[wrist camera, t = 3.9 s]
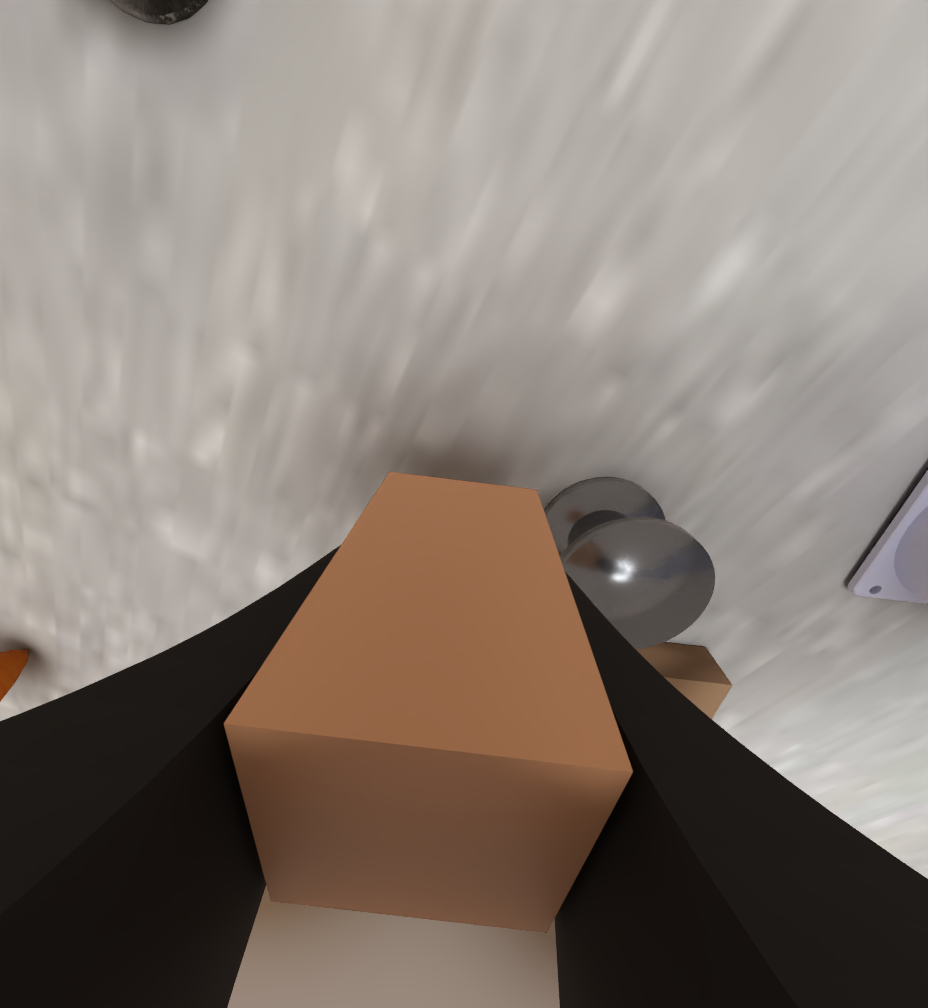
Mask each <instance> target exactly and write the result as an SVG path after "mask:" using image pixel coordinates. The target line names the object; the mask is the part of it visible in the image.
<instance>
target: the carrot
mask: <svg viewBox="0 0 928 1008" xmlns="http://www.w3.org/2000/svg"><path fill="white" fill-rule="evenodd" d="M28 656H29V651H28V650H26V649H20V650H9V651H5V652H1V653H0V701H1V700H2V699H3V697H4V696H5V695H6V694H7V692H8V691H9V690H10V688H11V687H12V686H13V684H14V683H15V682H16V680H17V678H18V677H19V675H20V673H21V672H22V670H23V668H24V666H25V665H26V663H27V661H28Z"/></svg>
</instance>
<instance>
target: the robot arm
mask: <svg viewBox="0 0 928 1008" xmlns="http://www.w3.org/2000/svg"><path fill="white" fill-rule="evenodd" d="M340 546H341V545H340ZM340 546H339V547H337V548H336V549H334V550H333V551H331V552H330V553H329V554H327V555H326V556H324V557H323V558H321V559H320V560H318V561H317V562H316V563H314V564H313V565H311V566H310V567H308V568H307V569H305V570H304V571H302V572H301V573H299V574H298V575H296V576H295V577H293V578H292V579H290V580H289V581H287V582H286V583H284V584H283V585H281V586H280V587H278V588H277V589H275V590H273V591H272V592H270V593H268V594H267V595H265V596H263V597H262V598H260V599H259V600H257V601H255V602H254V603H252V604H250V605H249V606H247V607H245V608H244V609H242V610H240V611H239V612H237V613H235V614H234V615H232V616H230V617H229V618H227V619H225V620H223V621H221V622H220V623H218V624H216V625H214V626H212V627H210V628H209V629H207V630H205V631H203V632H201V633H199V634H197V635H195V636H193V637H191V638H189V639H187V640H185V641H183V642H181V643H179V644H177V645H176V646H174V647H172V648H170V649H168V650H166V651H163V652H161V653H159V654H157V655H155V656H153V657H151V658H149V659H146V660H144V661H142V662H140V663H137V664H135V665H133V666H131V667H129V668H126V669H124V670H122V671H120V672H117V673H115V674H113V675H111V676H108V677H106V678H104V679H102V680H100V681H97V682H95V683H93V684H91V685H88V686H86V687H84V688H82V689H79V690H77V691H75V692H72V693H70V694H68V695H65V696H63V697H60V698H58V699H55V700H53V701H50V702H48V703H45V704H43V705H41V706H38V707H36V708H33V709H31V710H28V711H26V712H23V713H21V714H18V715H16V716H13V717H10V718H8V719H5V720H3V721H0V1008H227V1006H228V1003H229V1000H230V996H231V993H232V990H233V987H234V983H235V980H236V977H237V974H238V971H239V968H240V964H241V961H242V958H243V955H244V952H245V949H246V946H247V943H248V940H249V936H250V933H251V930H252V927H253V924H254V921H255V918H256V915H257V912H258V908H259V905H260V902H261V899H262V896H263V893H264V890H265V887H266V881H265V877H264V874H263V870H262V866H261V862H260V859H259V855H258V851H257V847H256V844H255V840H254V836H253V832H252V829H251V825H250V821H249V817H248V814H247V810H246V806H245V802H244V799H243V795H242V791H241V787H240V784H239V780H238V776H237V772H236V769H235V765H234V761H233V757H232V754H231V750H230V746H229V742H228V739H227V735H226V731H225V727H224V722H225V721H226V719H227V718H228V716H229V715H230V713H231V712H232V710H233V709H234V707H235V706H236V704H237V703H238V701H239V700H240V698H241V697H242V695H243V694H244V692H245V691H246V689H247V687H248V686H249V684H250V683H251V681H252V680H253V678H254V677H255V675H256V674H257V672H258V671H259V669H260V668H261V666H262V665H263V663H264V662H265V660H266V659H267V657H268V656H269V654H270V653H271V651H272V650H273V648H274V647H275V645H276V643H277V642H278V640H279V639H280V637H281V636H282V634H283V633H284V631H285V630H286V628H287V627H288V625H289V624H290V622H291V621H292V619H293V618H294V616H295V615H296V613H297V612H298V610H299V609H300V607H301V606H302V604H303V603H304V601H305V599H306V598H307V596H308V595H309V593H310V592H311V590H312V589H313V587H314V586H315V584H316V583H317V581H318V580H319V578H320V577H321V575H322V574H323V572H324V571H325V569H326V568H327V566H328V565H329V563H330V562H331V560H332V559H333V557H334V555H335V554H336V552H337V551H338V549H339V548H340ZM565 574H566V577H567V580H568V583H569V586H570V588H571V591H572V594H573V597H574V600H575V603H576V606H577V609H578V612H579V615H580V618H581V621H582V624H583V627H584V630H585V632H586V635H587V638H588V641H589V644H590V647H591V650H592V653H593V656H594V659H595V662H596V665H597V668H598V671H599V673H600V676H601V679H602V682H603V685H604V688H605V691H606V694H607V697H608V700H609V703H610V706H611V709H612V712H613V714H614V717H615V720H616V723H617V726H618V729H619V732H620V735H621V738H622V741H623V744H624V747H625V750H626V753H627V755H628V758H629V761H630V764H631V767H632V770H633V773H632V775H631V777H630V779H629V781H628V782H627V784H626V786H625V788H624V790H623V792H622V794H621V795H620V797H619V799H618V801H617V803H616V805H615V807H614V809H613V810H612V812H611V814H610V816H609V818H608V820H607V822H606V823H605V825H604V827H603V829H602V831H601V833H600V835H599V836H598V838H597V840H596V842H595V844H594V846H593V848H592V849H591V851H590V853H589V855H588V857H587V859H586V861H585V863H584V864H583V866H582V868H581V870H580V872H579V874H578V876H577V877H576V879H575V881H574V883H573V885H572V887H571V889H570V890H569V892H568V894H567V896H566V898H565V900H564V902H563V903H562V905H561V907H560V909H559V911H558V913H557V915H556V917H555V931H556V947H557V964H558V981H559V999H560V1008H928V879H927V878H925V877H924V876H922V875H921V874H919V873H918V872H916V871H915V870H913V869H912V868H911V867H909V866H908V865H906V864H905V863H903V862H902V861H900V860H899V859H897V858H896V857H894V856H893V855H892V854H890V853H889V852H887V851H886V850H885V849H883V848H882V847H880V846H879V845H877V844H876V843H875V842H873V841H872V840H870V839H869V838H867V837H866V836H865V835H863V834H862V833H860V832H859V831H858V830H856V829H855V828H853V827H852V826H850V825H849V824H848V823H846V822H845V821H843V820H842V819H840V818H839V817H838V816H836V815H835V814H833V813H832V812H830V811H829V810H828V809H826V808H825V807H824V806H822V805H821V804H820V803H818V802H817V801H816V800H814V799H813V798H811V797H810V796H809V795H807V794H806V793H805V792H803V791H802V790H801V789H799V788H798V787H796V786H795V785H794V784H792V783H791V782H790V781H788V780H787V779H786V778H785V777H783V776H782V775H781V774H779V773H778V772H777V771H776V770H774V769H773V768H772V767H770V766H769V765H768V764H767V763H765V762H764V761H763V760H761V759H760V758H759V757H758V756H756V755H755V754H754V753H752V752H751V751H750V750H749V749H747V748H746V747H745V746H743V745H742V744H741V743H740V742H738V741H737V740H736V739H735V738H733V737H732V736H731V735H730V734H729V733H727V732H726V731H725V730H724V729H722V728H721V727H720V726H719V725H718V724H716V723H715V722H714V721H713V720H712V719H711V718H709V717H708V716H707V715H706V714H705V713H704V712H703V711H701V710H700V709H699V708H698V707H697V706H696V705H694V704H693V703H692V702H691V701H690V700H689V699H688V698H686V697H685V696H684V695H683V694H682V693H681V692H680V691H678V690H677V689H676V688H675V687H674V686H673V685H672V684H671V683H670V682H669V681H668V680H667V679H665V678H664V677H663V676H662V675H661V674H660V673H659V672H658V671H657V670H656V669H655V668H654V667H653V666H652V665H651V664H650V663H649V662H648V661H647V660H646V659H645V658H644V657H643V656H642V655H641V654H640V653H639V652H638V651H637V650H636V649H635V648H634V647H633V646H632V645H631V644H630V643H629V642H628V641H627V640H626V639H625V638H624V637H623V636H622V635H621V634H620V633H619V631H618V630H617V629H616V628H615V627H614V626H613V625H612V624H611V623H610V622H609V621H608V619H607V618H606V617H605V616H604V615H603V614H602V613H601V612H600V611H599V609H598V608H597V607H596V606H595V605H594V604H593V603H592V601H591V600H590V599H589V598H588V597H587V596H586V595H585V593H584V592H583V591H582V590H581V589H580V588H579V586H578V585H577V584H576V583H575V582H574V581H573V580H572V578H571V577H570V576H569V575H568V574H567V573H566V572H565ZM848 589H849V590H850V591H851V592H852V593H853V594H855V595H857V596H863V597H872V598H880V599H889V600H897V601H906V602H915V603H923V604H928V470H927V472H926V473H925V475H924V476H923V478H922V479H921V480H920V482H919V483H918V485H917V486H916V488H915V489H914V490H913V492H912V493H911V495H910V496H909V498H908V499H907V500H906V502H905V503H904V505H903V506H902V508H901V509H900V511H899V512H898V513H897V515H896V516H895V518H894V519H893V521H892V522H891V523H890V525H889V526H888V528H887V529H886V531H885V532H884V533H883V535H882V536H881V538H880V539H879V541H878V542H877V544H876V545H875V546H874V548H873V549H872V551H871V552H870V554H869V555H868V556H867V558H866V559H865V561H864V562H863V564H862V565H861V566H860V568H859V569H858V571H857V572H856V574H855V575H854V577H853V578H852V579H851V581H850V582H849V584H848Z"/></svg>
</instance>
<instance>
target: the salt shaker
mask: <svg viewBox="0 0 928 1008" xmlns="http://www.w3.org/2000/svg"><path fill="white" fill-rule="evenodd" d="M110 1H111V2H112V3H114V4H115V5H116V6H117V7H119V8H120V9H121V10H122V11H124V12H126V13H128V14H130V15H132V16H135V17H137V18H139V19H141V20H143V21H145V22H151V23H161V24H171V23H174V22H178V21H181V20H184V19H187V18H189V17H191V16H192V15H193V14H194V13H195V12H196V11H197V10H199V9H200V8H201V7H202V6H203V5H204V4H205V3H206V2H207V0H110Z"/></svg>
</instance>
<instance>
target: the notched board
mask: <svg viewBox="0 0 928 1008" xmlns="http://www.w3.org/2000/svg"><path fill="white" fill-rule="evenodd" d="M636 650H637V651H638V652H639V653H640V654H641V655H642V656H643V657H644V658H645V659H646V660H647V661H648V662H649V663H650V664H651V665H652V666H653V667H654V668H655V669H656V670H657V671H658V672H659V673H660V674H661V675H662V676H663V677H664V678H665V679H667V680H668V681H669V682H670V683H671V684H672V685H673V686H674V687H675V688H676V689H677V690H678V691H680V692H681V693H682V694H683V695H684V696H685V697H686V698H688V699H689V700H690V701H691V702H692V703H693V704H694V705H696V706H697V707H698V708H699V709H700V710H701V711H703V712H704V713H705V714H706V715H707V716H708V717H709V718H711V719H712V717H713V716H714V714H715V713H716V711H717V709H718V708H719V706H720V704H721V703H722V701H723V700H724V698H725V696H726V695H727V693H728V692H729V690H730V688H731V687H732V684H731V682H730V681H729V680H728V678H727V677H726V675H725V674H724V672H723V671H722V670H721V668H720V667H719V665H718V664H717V663H716V661H715V660H714V658H713V657H712V655H711V654H710V653H709V651H708V650H707V648H706V647H700V646H691V645H683V644H674V643H666V642H662V643H660V644H657V645H654V646H651V647H647V648H642V649H636Z"/></svg>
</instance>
